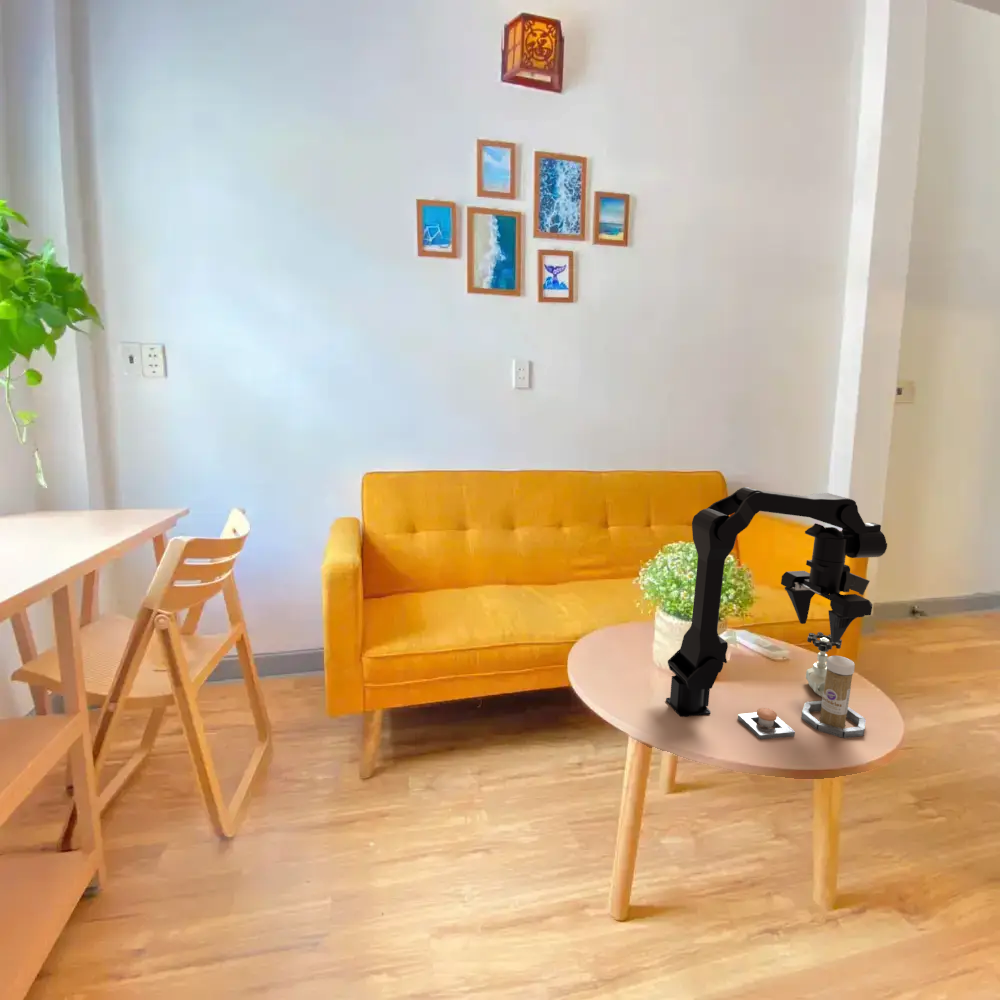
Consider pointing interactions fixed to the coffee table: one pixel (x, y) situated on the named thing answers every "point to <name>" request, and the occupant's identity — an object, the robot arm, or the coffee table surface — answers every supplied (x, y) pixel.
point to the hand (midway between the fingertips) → (818, 632)
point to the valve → (820, 661)
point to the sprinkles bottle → (836, 691)
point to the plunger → (766, 717)
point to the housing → (777, 732)
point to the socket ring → (833, 730)
